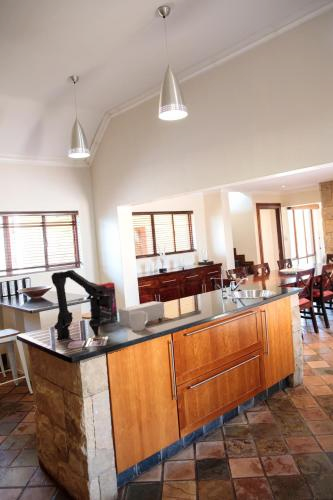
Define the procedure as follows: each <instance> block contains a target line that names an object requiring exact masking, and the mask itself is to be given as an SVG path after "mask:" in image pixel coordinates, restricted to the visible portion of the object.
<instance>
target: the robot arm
mask: <svg viewBox="0 0 333 500" xmlns="http://www.w3.org/2000/svg"><path fill="white" fill-rule="evenodd" d="M68 278H69V279H70V280H72V281H73V282H75V283H76V284H77V285H79V286H81V288H83V289H84V290H85V292H86V293H87V294H88V297H86V300H89V304H90V309H89V312H90V319H89V321H88V325H89V327H90V328H91V330H92V332H93V334H95V336H98V328H99V326H100V327H101V326H102V325H101V321H102V320H103V318H107V319H110V316H111V312H110V311H109V310H108V309H107V310H106V311H103V310H102V308H101V307H112V306H113V299H112V297H111V295H105V294H104V292H103V291H102V290H101V287H100V286H99V285H97V283H95V282H92V281H89V280H88V279H86V278H85V277H84V276H81V275H80V274H78V272H76V271H75V270H73V269H70V270H66V271H59V272H53V273H52V275H51V282H52V284H53V286H54V287H55V290H56V297H57V305H58V310H59V311H58V315H57V322H55V325H54V326H53V328H54V330H56V334H57V338H56V340H57V341H58V340H68V339H69V338H70V336H71V331H70V329H69V327H70V326H71V325H72V323H73V319H74V318H73V312H70V311H69V309H68V302H67V296H66V289H65V288H66V283H67V279H68ZM97 294H99V295H97ZM101 318H102V319H101Z"/></svg>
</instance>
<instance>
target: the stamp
mask: <svg viewBox="0 0 333 500" xmlns="http://www.w3.org/2000/svg"><path fill="white" fill-rule="evenodd" d="M93 334H94V333H93ZM102 337H103V334H101V325H100V326H99V328H98V336H95V334H94V335H92V338H93V341H96V340H102Z"/></svg>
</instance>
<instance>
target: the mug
mask: <svg viewBox="0 0 333 500" xmlns="http://www.w3.org/2000/svg"><path fill="white" fill-rule="evenodd" d="M144 314H145V313H144V311H133V312H130V322H131V327H130V329H131V331H132V332H135V333H136V332H143V331H145V329H146V324H147V323H149V322H148V313H146V322H145V317H144Z"/></svg>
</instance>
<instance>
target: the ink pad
mask: <svg viewBox="0 0 333 500" xmlns="http://www.w3.org/2000/svg"><path fill="white" fill-rule="evenodd" d="M85 346H86V340H74V341H70V342H69V344H68V346H67V349H78V348H79V349H80V348H84V347H85Z"/></svg>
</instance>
